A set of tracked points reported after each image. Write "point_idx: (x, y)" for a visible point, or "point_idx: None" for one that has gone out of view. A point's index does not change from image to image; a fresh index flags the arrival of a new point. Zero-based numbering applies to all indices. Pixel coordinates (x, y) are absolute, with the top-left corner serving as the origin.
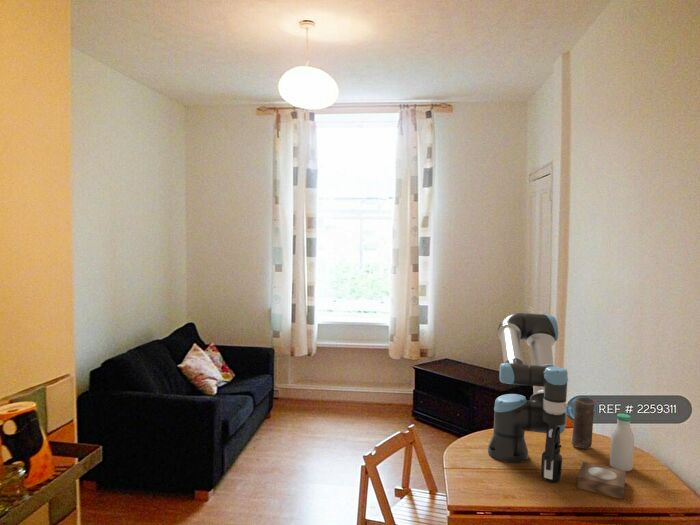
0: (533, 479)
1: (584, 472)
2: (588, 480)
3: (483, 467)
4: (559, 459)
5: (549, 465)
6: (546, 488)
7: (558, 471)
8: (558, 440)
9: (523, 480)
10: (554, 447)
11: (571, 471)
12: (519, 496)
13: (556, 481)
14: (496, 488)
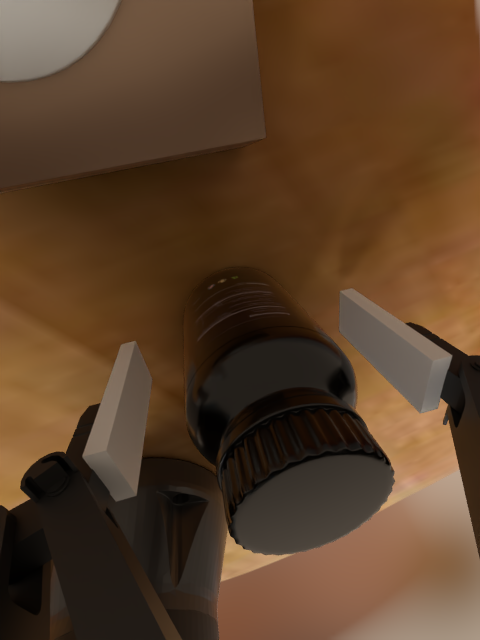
0: None
1: (121, 107)
2: (250, 15)
3: None
4: (320, 342)
5: (445, 347)
6: (356, 285)
7: (283, 295)
8: (98, 582)
9: None
10: (347, 485)
11: (21, 270)
12: (475, 329)
13: (270, 276)
14: (442, 400)
